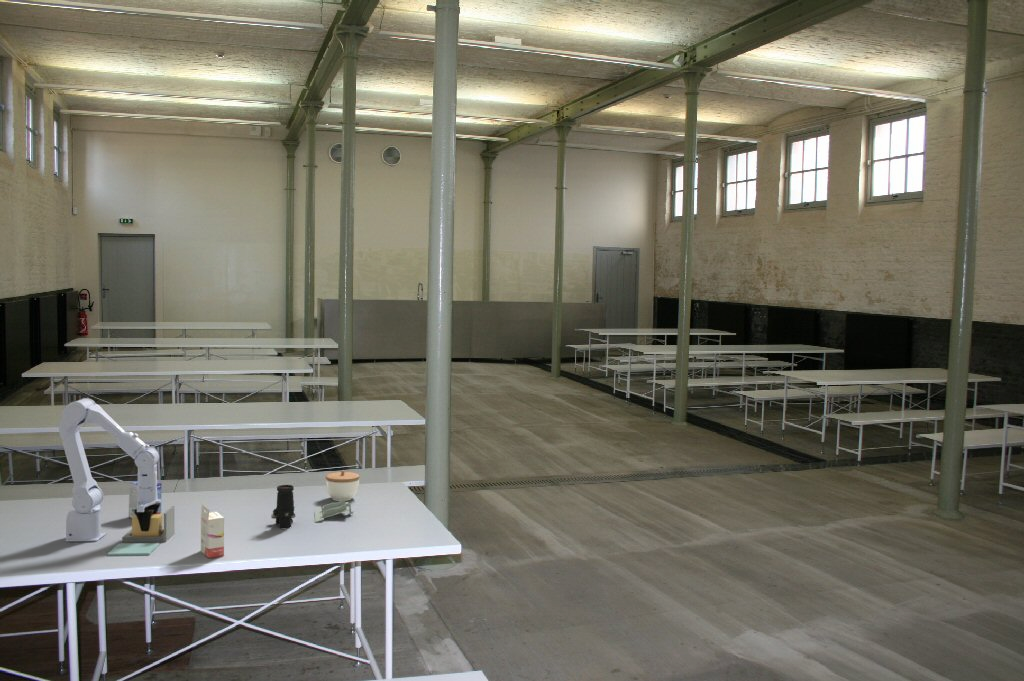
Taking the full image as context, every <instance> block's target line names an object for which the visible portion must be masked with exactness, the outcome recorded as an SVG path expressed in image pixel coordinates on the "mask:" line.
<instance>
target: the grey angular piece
mask: <svg viewBox="0 0 1024 681" xmlns="http://www.w3.org/2000/svg"><path fill="white" fill-rule="evenodd" d="M173 535H175V506H174V505H172V506H170V507H169V508H168V509H166V511H165V512H163V533H162V534H161V535H160V536H132V528H131V529H130V530H129V531H128V532H127V533H126V534H124V535H123V536H122V537H121V543H151V542H152V543H162V542H163V543H165V541H167V540H168V541H169V539H171V538H172V537H173ZM168 541H167V542H168Z"/></svg>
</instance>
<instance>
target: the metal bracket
mask: <svg viewBox="0 0 1024 681" xmlns="http://www.w3.org/2000/svg"><path fill="white" fill-rule="evenodd" d="M351 507H352V506H351V502H348V501H345V500H341V501H337V502H331V503H328V504H325V505H322V506H321V508H317V509H314V510H313V514H314V523H319V522H323V521H324V520H325V519H326V518H330V517H333V516H336V515H339V514H343V513H346V512H348V513H349V515H350V516H349V517H352V515H353V514H354V511H352V508H351Z"/></svg>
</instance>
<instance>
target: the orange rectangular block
mask: <svg viewBox="0 0 1024 681" xmlns="http://www.w3.org/2000/svg"><path fill="white" fill-rule="evenodd" d="M131 529H132V536H160V535H161V534H162V533H163V529H164V513H161V514H152V516H151V520H150V527H149V531H141V528H140V524H139V521H138V518H137V516H136V515H135V516H134V517H133V518H131Z"/></svg>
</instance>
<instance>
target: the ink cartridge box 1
mask: <svg viewBox="0 0 1024 681" xmlns="http://www.w3.org/2000/svg"><path fill="white" fill-rule="evenodd" d="M157 495H158V499H161V500H162V482H157ZM137 500H138V480H137V481H134V482H133V481H132V482H130V483H128V518H129V517H130V518H131V519H132V518H133V517H134V516H135V513H134V510H135V509H137ZM157 514H162V501H161V502H160V507H159V509H158V511H157ZM130 518H129V519H130Z"/></svg>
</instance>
